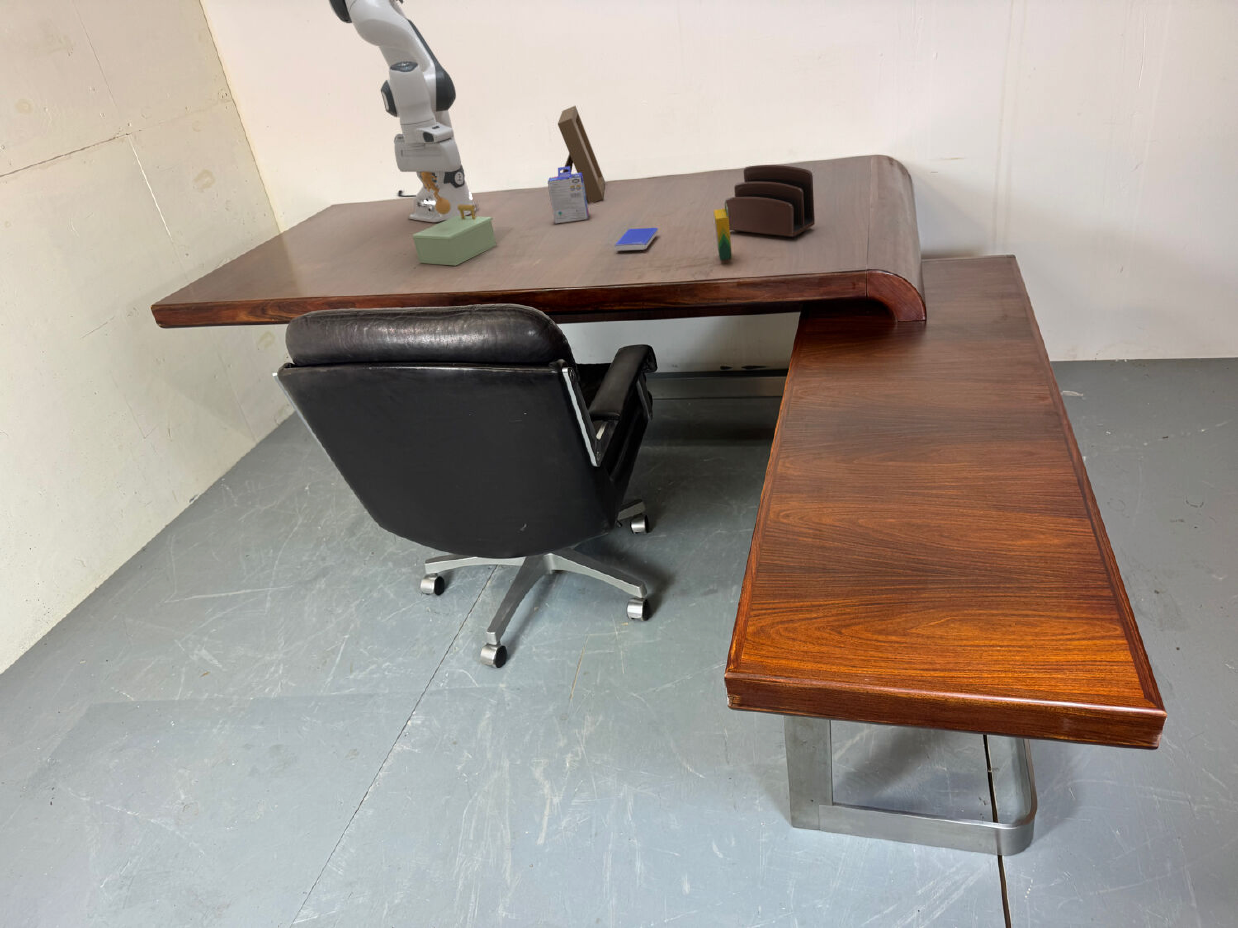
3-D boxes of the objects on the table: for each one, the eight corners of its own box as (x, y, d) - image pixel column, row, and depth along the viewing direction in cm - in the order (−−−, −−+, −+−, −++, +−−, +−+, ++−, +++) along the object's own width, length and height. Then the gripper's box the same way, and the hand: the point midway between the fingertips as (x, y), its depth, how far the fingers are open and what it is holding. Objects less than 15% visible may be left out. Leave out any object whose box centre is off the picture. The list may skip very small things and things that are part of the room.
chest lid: (456, 218, 236) (452, 202, 233) (493, 220, 229) (489, 203, 226) (412, 238, 224) (408, 220, 222) (449, 240, 217) (445, 222, 214)
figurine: (447, 218, 219) (437, 171, 212) (425, 220, 219) (414, 173, 213) (456, 208, 225) (446, 162, 219) (434, 209, 226) (424, 164, 220)
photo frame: (605, 184, 275) (593, 102, 262) (603, 202, 257) (590, 115, 243) (560, 190, 276) (546, 110, 263) (555, 208, 258) (540, 123, 245)
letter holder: (748, 218, 218) (744, 162, 211) (815, 225, 206) (814, 166, 198) (725, 230, 212) (721, 173, 205) (793, 238, 200) (791, 178, 193)
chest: (460, 243, 239) (454, 219, 235) (496, 245, 232) (491, 220, 228) (419, 263, 227) (412, 238, 224) (456, 265, 220) (449, 240, 217)
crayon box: (717, 250, 199) (713, 201, 193) (729, 249, 199) (726, 200, 193) (719, 261, 193) (715, 210, 187) (732, 259, 193) (728, 208, 187)
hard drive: (645, 243, 208) (657, 227, 218) (614, 244, 210) (627, 229, 220) (646, 249, 209) (658, 233, 219) (615, 250, 211) (628, 234, 221)
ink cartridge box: (589, 214, 246) (581, 163, 238) (588, 219, 241) (580, 168, 234) (556, 219, 247) (547, 168, 239) (554, 224, 242) (545, 173, 234)
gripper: (383, 137, 215) (398, 191, 222) (440, 135, 204) (453, 192, 211) (401, 131, 220) (415, 185, 227) (457, 129, 209) (470, 185, 216)
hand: (434, 188), depth 219 cm, fingers closed on figurine, 3 cm apart
